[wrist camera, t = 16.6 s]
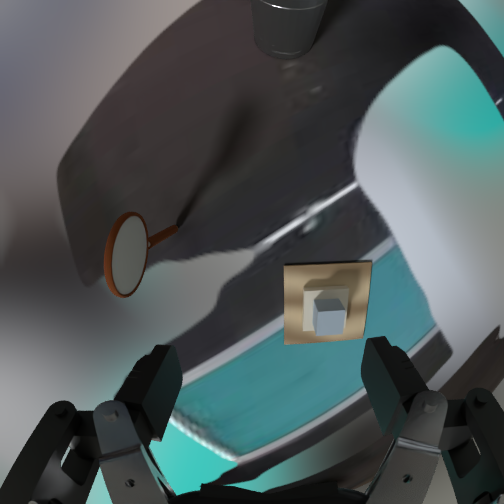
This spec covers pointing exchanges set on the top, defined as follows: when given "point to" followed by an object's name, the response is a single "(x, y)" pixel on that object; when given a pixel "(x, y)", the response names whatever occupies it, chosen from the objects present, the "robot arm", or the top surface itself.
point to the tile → (317, 294)
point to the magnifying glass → (129, 252)
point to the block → (328, 317)
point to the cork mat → (322, 276)
